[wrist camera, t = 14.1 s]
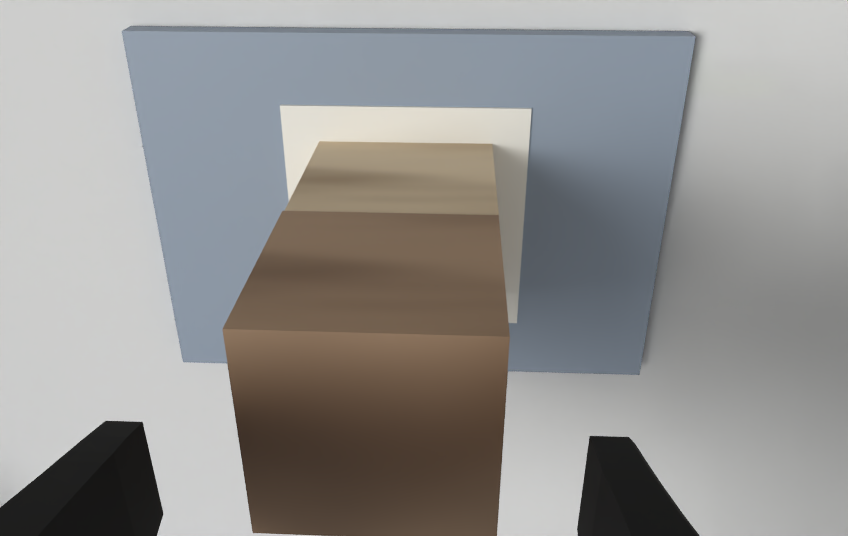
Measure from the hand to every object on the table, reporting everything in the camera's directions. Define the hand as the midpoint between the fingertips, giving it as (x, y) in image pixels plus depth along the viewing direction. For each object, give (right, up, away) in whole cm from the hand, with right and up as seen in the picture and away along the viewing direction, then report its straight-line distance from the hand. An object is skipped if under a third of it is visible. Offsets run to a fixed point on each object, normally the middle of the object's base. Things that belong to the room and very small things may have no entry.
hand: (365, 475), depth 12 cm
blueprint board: (+1, +5, +9) cm, 10 cm away
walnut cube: (0, +3, +4) cm, 5 cm away
